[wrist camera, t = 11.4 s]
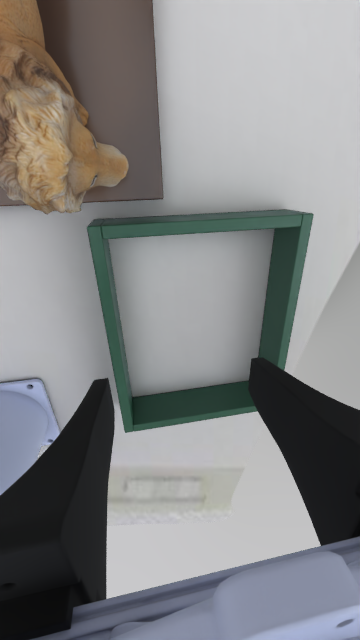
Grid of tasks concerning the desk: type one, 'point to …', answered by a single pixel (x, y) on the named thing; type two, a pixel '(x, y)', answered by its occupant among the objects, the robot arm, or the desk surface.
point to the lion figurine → (44, 123)
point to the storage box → (276, 321)
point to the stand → (110, 85)
